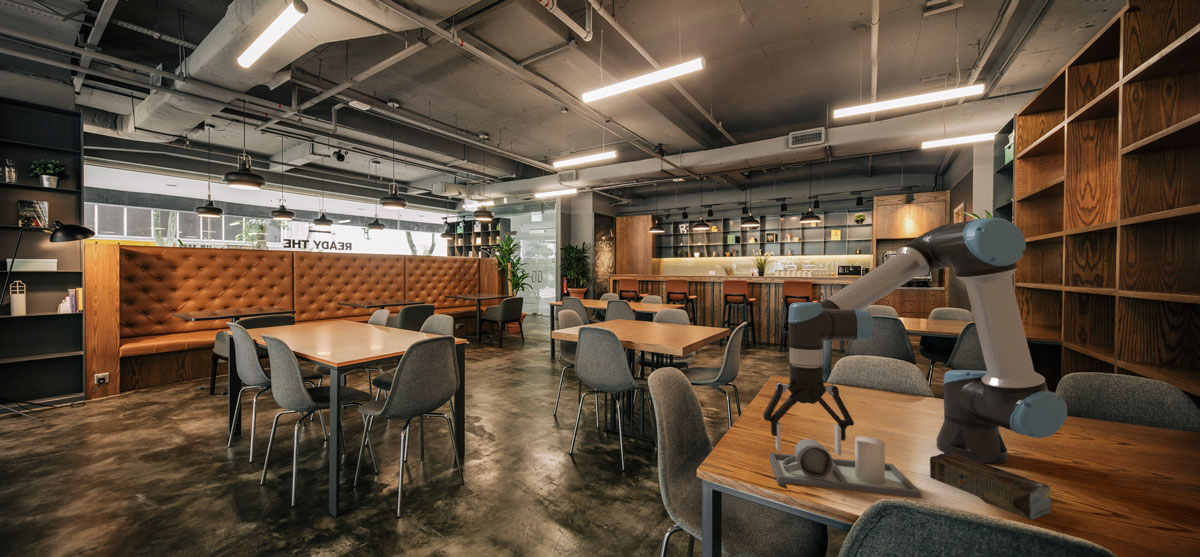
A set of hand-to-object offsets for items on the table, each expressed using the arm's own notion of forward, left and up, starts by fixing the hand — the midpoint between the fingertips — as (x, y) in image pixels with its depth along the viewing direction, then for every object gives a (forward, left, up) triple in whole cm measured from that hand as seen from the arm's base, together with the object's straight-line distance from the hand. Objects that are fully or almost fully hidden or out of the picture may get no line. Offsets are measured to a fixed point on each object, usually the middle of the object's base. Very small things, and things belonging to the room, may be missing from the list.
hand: (807, 451), depth 106 cm
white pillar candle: (-14, 0, -5) cm, 15 cm away
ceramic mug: (0, 0, -5) cm, 5 cm away
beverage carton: (-37, +1, -6) cm, 37 cm away
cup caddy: (-7, 0, -6) cm, 9 cm away
